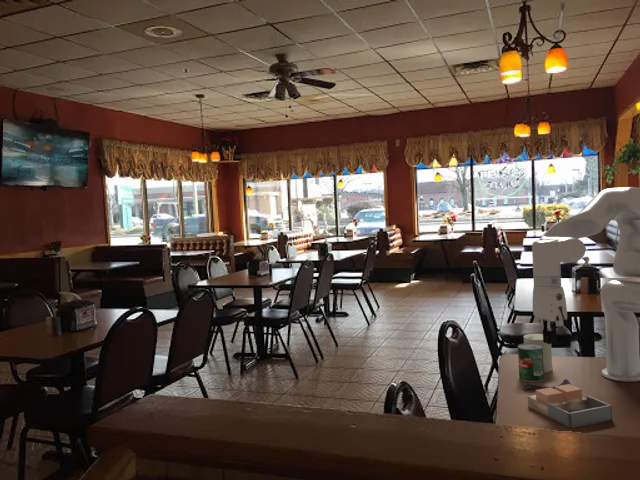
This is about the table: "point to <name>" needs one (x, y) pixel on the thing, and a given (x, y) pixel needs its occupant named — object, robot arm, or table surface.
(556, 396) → the tile
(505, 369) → the table surface
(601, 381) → the table surface
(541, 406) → the board
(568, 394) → the tile
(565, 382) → the bracket
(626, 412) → the table surface
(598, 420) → the bus tub
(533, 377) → the canned tomato
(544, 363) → the can
